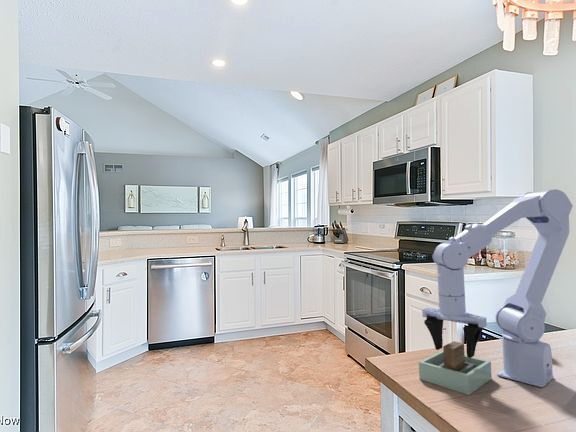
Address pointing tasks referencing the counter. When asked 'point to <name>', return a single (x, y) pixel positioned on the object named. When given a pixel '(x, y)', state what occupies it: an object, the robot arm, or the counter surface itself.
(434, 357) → the sage green storage tray
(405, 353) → the counter surface
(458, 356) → the wood grain brick
